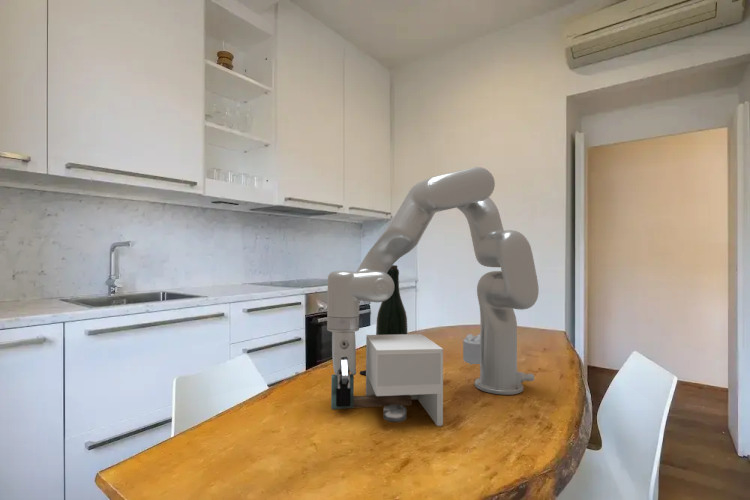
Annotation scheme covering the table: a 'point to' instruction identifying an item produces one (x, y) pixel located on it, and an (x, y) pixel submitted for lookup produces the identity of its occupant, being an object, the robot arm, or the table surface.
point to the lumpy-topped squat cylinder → (471, 349)
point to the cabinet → (406, 370)
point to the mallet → (367, 398)
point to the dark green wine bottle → (392, 310)
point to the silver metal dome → (395, 413)
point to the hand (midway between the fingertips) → (342, 399)
